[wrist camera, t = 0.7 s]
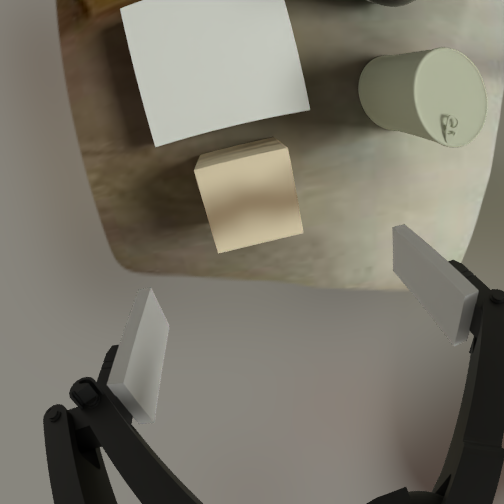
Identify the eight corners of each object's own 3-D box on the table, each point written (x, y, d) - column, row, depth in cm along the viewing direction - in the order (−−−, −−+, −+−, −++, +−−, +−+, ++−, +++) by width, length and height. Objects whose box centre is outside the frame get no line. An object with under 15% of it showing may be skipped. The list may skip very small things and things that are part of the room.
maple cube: (200, 154, 33) (193, 170, 26) (273, 136, 33) (287, 147, 26) (219, 221, 37) (218, 253, 30) (287, 205, 37) (303, 233, 30)
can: (354, 123, 33) (409, 139, 22) (360, 47, 29) (418, 32, 18) (420, 136, 34) (484, 157, 23) (427, 66, 30) (494, 66, 19)
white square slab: (130, 17, 25) (120, 8, 22) (269, -16, 25) (275, -29, 21) (162, 141, 32) (155, 147, 28) (300, 108, 32) (310, 110, 28)
